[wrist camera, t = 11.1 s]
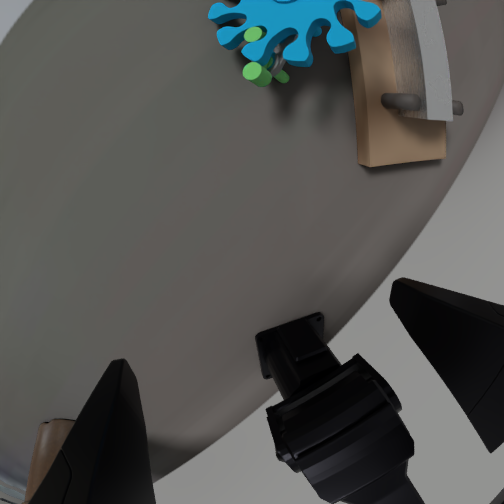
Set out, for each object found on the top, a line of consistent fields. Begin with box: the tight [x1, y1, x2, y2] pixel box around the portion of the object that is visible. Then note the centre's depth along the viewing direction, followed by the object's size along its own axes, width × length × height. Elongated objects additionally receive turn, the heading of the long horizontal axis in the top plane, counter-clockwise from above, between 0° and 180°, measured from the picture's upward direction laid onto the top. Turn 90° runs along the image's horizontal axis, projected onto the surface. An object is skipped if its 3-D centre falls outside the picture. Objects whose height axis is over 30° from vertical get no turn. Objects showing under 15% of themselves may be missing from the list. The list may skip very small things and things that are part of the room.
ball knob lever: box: [381, 0, 453, 121], centre depth 13 cm, size 16×4×3 cm, turn 9°
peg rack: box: [340, 0, 463, 167], centre depth 15 cm, size 20×10×4 cm, turn 9°
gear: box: [208, 0, 382, 87], centre depth 12 cm, size 11×6×10 cm
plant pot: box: [22, 419, 75, 504], centre depth 18 cm, size 16×16×16 cm
